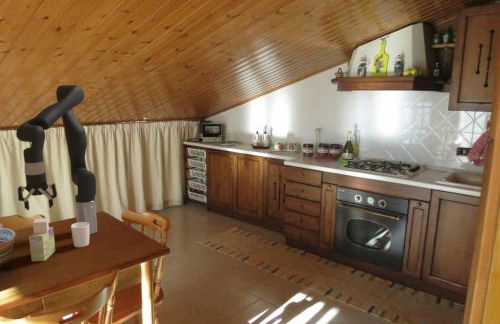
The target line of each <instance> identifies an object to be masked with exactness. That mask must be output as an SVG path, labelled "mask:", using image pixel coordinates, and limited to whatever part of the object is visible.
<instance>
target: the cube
mask: <svg viewBox="0 0 500 324" xmlns="http://www.w3.org/2000/svg"><path fill="white" fill-rule="evenodd" d="M32 227H33V233H34V234H39V233H47V232H48V229H49V227H50V225H49V218H48V217H43V218H34V221H33V222H32Z"/></svg>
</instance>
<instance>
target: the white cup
mask: <svg viewBox="0 0 500 324" xmlns="http://www.w3.org/2000/svg"><path fill="white" fill-rule="evenodd" d="M70 230H71V236H72V242H73V247H75V248H83V247H87V246H88V245H89V244H90V234H89V223H88V222H78V223H77V222H75V223H72V224H71V225H70Z"/></svg>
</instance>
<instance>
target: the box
mask: <svg viewBox="0 0 500 324" xmlns="http://www.w3.org/2000/svg"><path fill="white" fill-rule="evenodd" d="M28 238H29V241H28V242H29V247H30V249H29V250H30V256H31V258H30V259H31V262H45V261H47V259H49V258H50V257H51V256H52V255H53V254H54V253H55V252H56V243H55V233H54V227H53V226H49V229H48V232H47V233H39V234H34V232H32V233H31V234H30V235H29V236H28Z"/></svg>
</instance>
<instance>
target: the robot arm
mask: <svg viewBox="0 0 500 324" xmlns="http://www.w3.org/2000/svg"><path fill="white" fill-rule="evenodd" d="M55 90H56V92H55V95H56V101H57V102H55V103H52V104H50V105H49V106H46V107H45V108H44V109H42V110H41V111H39V113H37V115H35V116H34V117H33V118H30V119H28V120H26V121H25V122H23V123H22V124H20V125H19V126H18V127H17V129H16V131H15V136H16V138H17V139H18V140H19V141H21V142H22V143H23V142H24V143H31V144H30V147H26V148H24V149H23V153H22V154H23V160H24V161H23V163H24V164H23V166H24V169H23V170H24V174H25V176H24V177H25V186H22V185H20V186H18V187H17V196H18V197H17V198H18V201H19V202H23V203H24V204H23V205H24V209H25V210H26V211H30V202H29V199H30V198H31V196H33V197H36V196H42V195H44V196H45V197H46V198H48V206H49V208H51V209H52V207H54V199H56V198H57V196H58V193H57V186H56V183H54V182H53V183H51V184H48V182H47V174H46V166H45V162H44V161H45V160H44V154H43V153H44V152H43V151H44V146H45V142H46V131H47V130H48V129H50V128H51V127H52V126H53V125H54V124H55V123H56V122H57V121H58V120H59V119H60V118H61V120H62V124H63V129H64V137H65V142H66V146H67V151H68V157H69V163H70V176H71V181H72V184H74V185H75V186H76V187H77V188H76V189H77V194H76V195H75V196H74V198H75V200H74V201H75V213H76V223H78V222H88V223H89V235H93V234H95V233H98V222H97V221H98V220H97V212H96V211H97V209H96V208H97V207H96V194H97V179H96V176H95V174H94V172H92V171H91V170H88V168H87V163H86V151H87V148H88V141H87V133H86V130H85V128H84V126H83V125H82V123H81V122H80V121H79V120H78V118H77V116H76V115H75V113H74V110H73V109H74V108H75V107H77V106H78V105H80V104H81V103H82V102H83V101H84V99H85V91H84V89H83V88H82V87H81V86H80V85H77V84H64V85H59V86H58V87H57V88H56V89H55ZM48 188H49V189H50V190H51V191H52V194H51V193H50V191H48ZM24 191H26V192H28V194H27V195H26V196H25V197H24V194H23V192H24Z"/></svg>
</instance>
